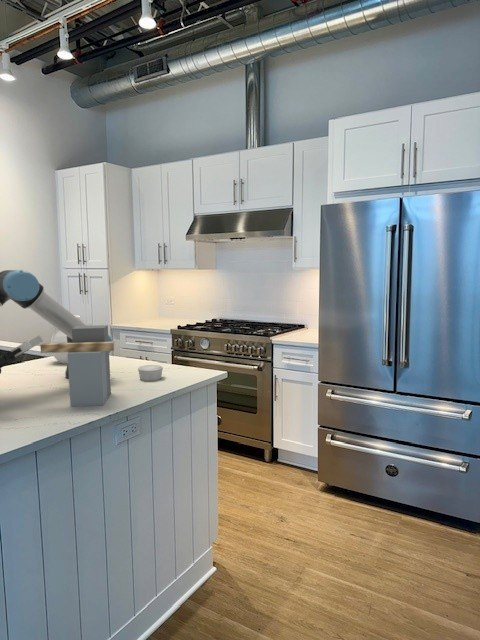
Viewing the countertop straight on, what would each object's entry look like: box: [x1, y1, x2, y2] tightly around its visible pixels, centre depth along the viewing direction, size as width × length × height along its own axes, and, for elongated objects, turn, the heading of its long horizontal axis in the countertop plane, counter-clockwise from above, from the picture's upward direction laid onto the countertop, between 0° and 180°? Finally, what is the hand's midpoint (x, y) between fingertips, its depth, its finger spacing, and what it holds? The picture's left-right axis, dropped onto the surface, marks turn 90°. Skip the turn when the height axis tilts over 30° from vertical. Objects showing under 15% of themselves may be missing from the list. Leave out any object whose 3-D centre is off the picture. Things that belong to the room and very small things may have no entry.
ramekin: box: [137, 364, 164, 382], centre depth 211 cm, size 11×11×5 cm
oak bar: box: [39, 341, 115, 354], centre depth 173 cm, size 26×3×3 cm, turn 96°
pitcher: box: [50, 314, 85, 365], centre depth 248 cm, size 19×18×25 cm
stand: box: [67, 324, 112, 407], centre depth 178 cm, size 12×16×28 cm
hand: (35, 340), depth 171 cm, fingers open, 13 cm apart
